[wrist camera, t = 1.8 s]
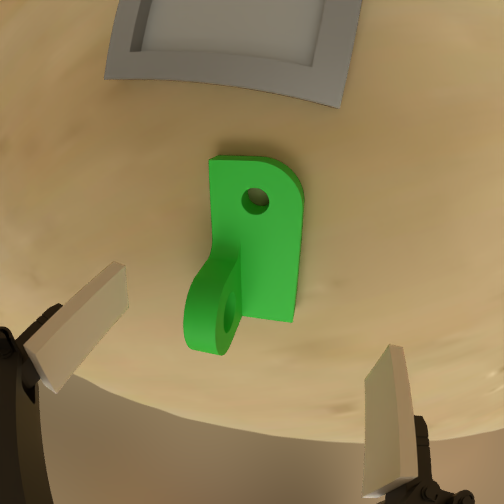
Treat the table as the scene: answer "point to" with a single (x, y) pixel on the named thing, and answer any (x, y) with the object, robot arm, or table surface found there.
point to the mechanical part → (246, 251)
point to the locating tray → (238, 44)
